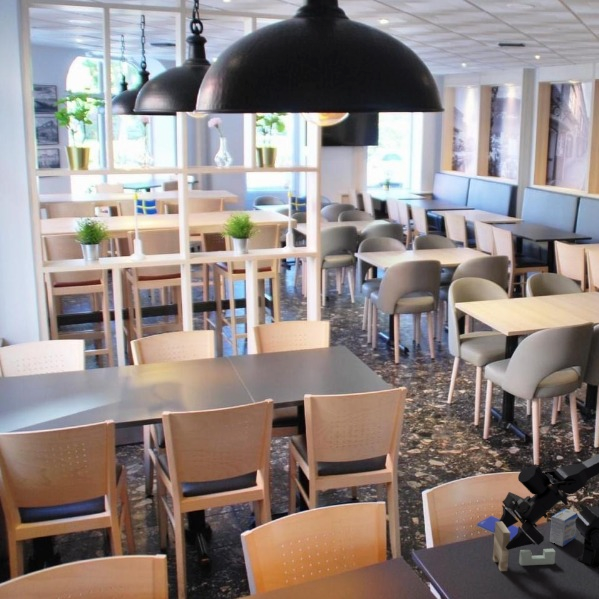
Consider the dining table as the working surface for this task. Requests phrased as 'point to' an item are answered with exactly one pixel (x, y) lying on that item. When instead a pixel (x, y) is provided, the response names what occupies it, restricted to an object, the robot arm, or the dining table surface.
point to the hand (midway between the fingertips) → (500, 540)
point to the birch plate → (501, 545)
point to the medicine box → (563, 527)
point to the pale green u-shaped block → (537, 557)
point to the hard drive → (490, 526)
